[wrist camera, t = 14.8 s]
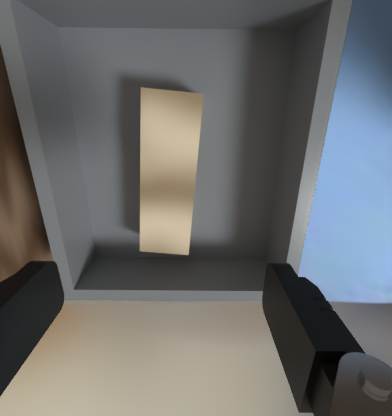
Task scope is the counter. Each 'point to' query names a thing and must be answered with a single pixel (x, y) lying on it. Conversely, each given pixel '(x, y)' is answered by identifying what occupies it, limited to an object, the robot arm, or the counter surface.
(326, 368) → the robot arm
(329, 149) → the counter surface
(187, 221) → the maple bar
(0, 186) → the walnut pocket board
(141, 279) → the charcoal tray
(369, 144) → the counter surface
